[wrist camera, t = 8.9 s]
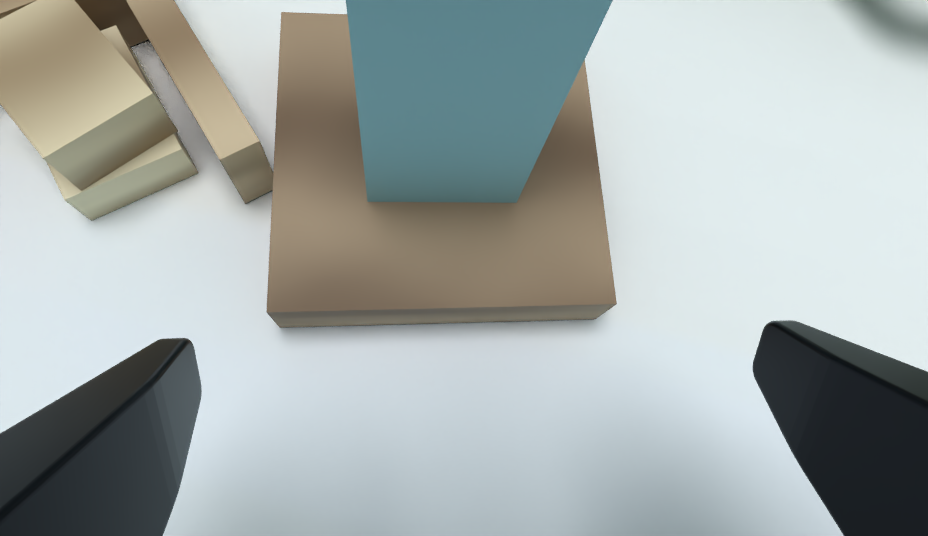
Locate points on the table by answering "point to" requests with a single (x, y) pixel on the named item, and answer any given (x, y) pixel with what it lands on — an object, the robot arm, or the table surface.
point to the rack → (186, 82)
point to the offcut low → (130, 162)
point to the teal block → (462, 91)
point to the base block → (421, 215)
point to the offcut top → (75, 92)
